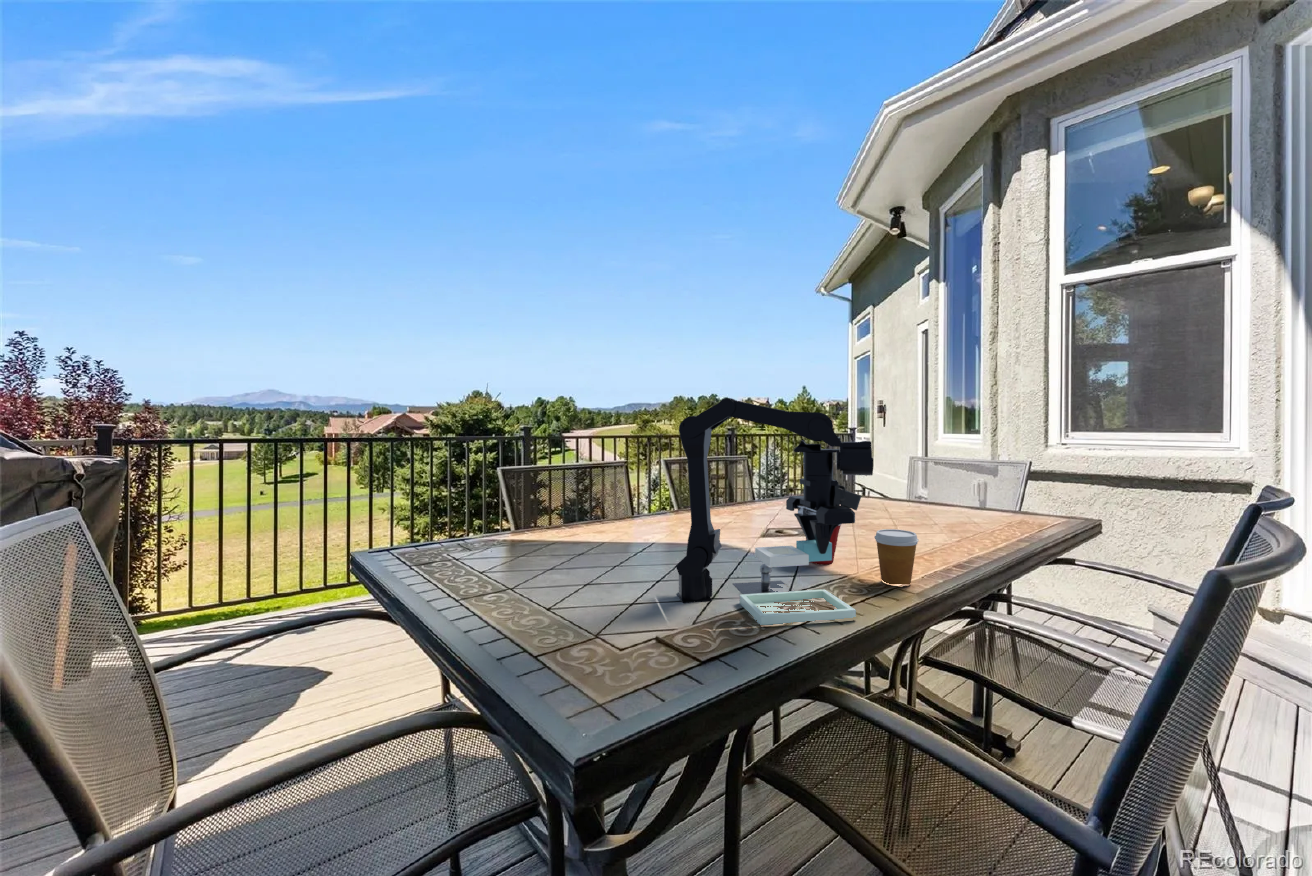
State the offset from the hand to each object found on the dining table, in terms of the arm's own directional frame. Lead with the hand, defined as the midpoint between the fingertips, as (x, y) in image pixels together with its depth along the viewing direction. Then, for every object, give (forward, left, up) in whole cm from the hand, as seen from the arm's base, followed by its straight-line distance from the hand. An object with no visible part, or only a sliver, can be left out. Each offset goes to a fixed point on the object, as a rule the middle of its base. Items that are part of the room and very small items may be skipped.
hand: (818, 551), depth 112 cm
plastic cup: (+17, +34, -12) cm, 39 cm away
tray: (-5, 0, -12) cm, 13 cm away
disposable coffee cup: (+26, +14, -12) cm, 32 cm away
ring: (-5, 0, -1) cm, 5 cm away
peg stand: (-6, +14, -12) cm, 19 cm away
